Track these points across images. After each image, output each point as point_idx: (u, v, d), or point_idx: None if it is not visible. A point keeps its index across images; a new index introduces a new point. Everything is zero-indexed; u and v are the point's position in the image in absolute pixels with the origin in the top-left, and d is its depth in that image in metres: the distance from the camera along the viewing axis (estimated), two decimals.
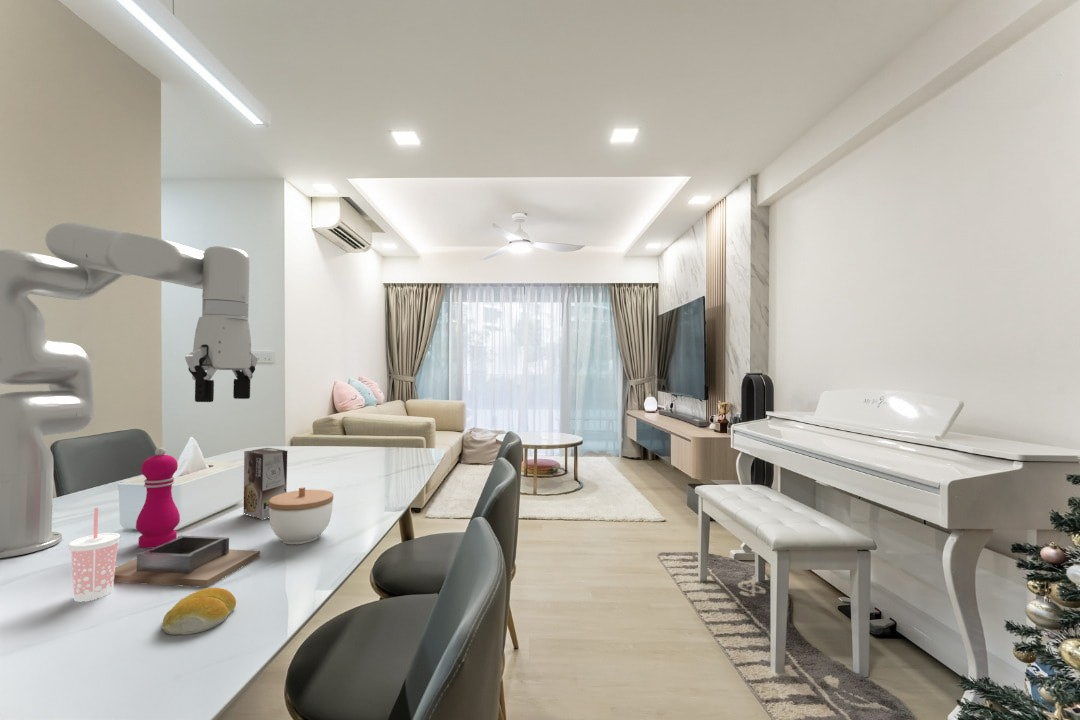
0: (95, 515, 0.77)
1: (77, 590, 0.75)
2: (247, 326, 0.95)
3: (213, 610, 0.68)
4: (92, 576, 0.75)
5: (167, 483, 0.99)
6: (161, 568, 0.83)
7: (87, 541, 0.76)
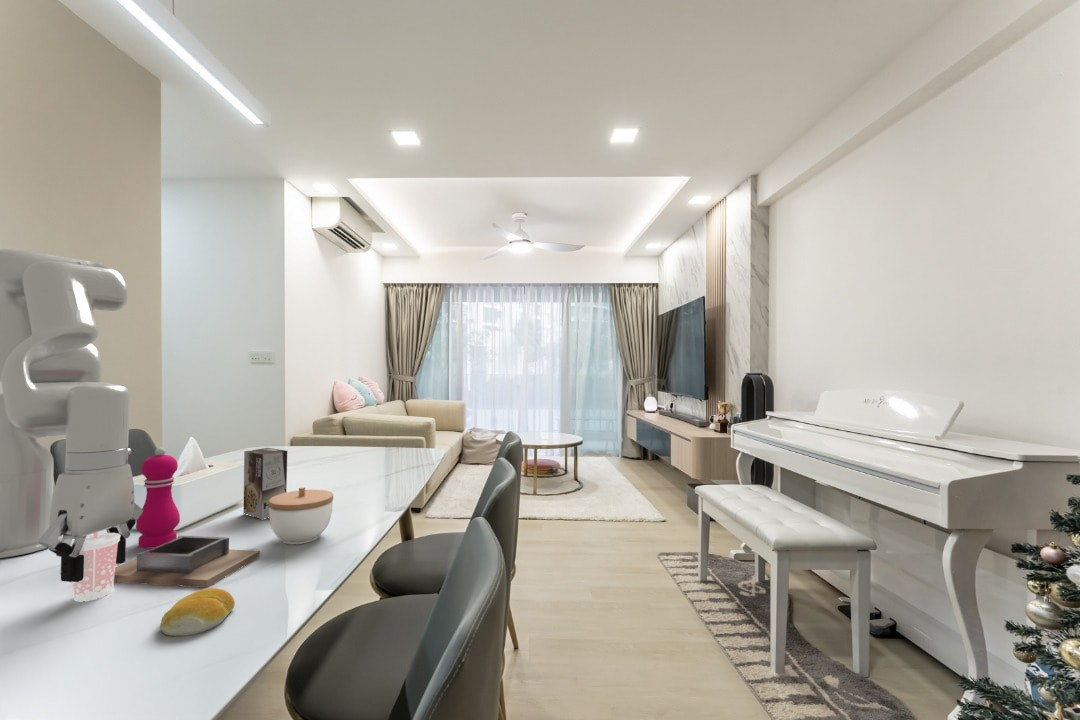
0: None
1: (77, 590, 0.75)
2: (127, 472, 0.80)
3: (211, 611, 0.68)
4: (92, 576, 0.75)
5: (166, 483, 0.99)
6: (161, 568, 0.83)
7: (87, 541, 0.76)
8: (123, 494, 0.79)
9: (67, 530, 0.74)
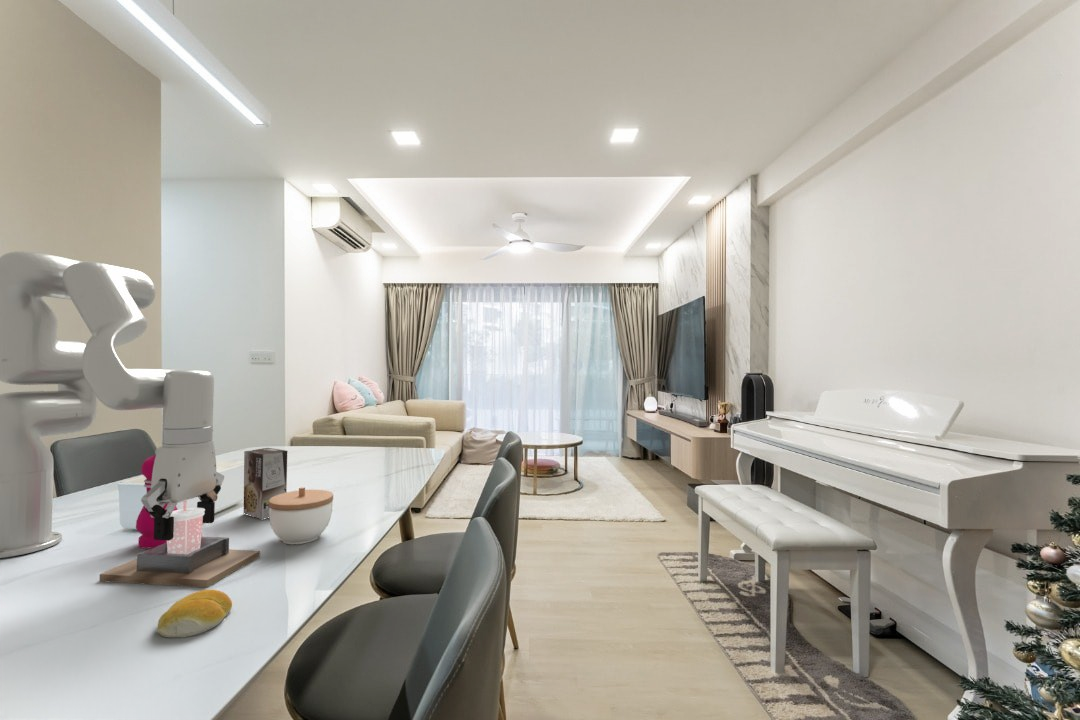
0: None
1: None
2: (211, 447, 0.91)
3: (209, 613, 0.67)
4: (184, 543, 0.86)
5: None
6: (161, 568, 0.83)
7: (178, 513, 0.87)
8: (208, 467, 0.90)
9: (165, 497, 0.84)
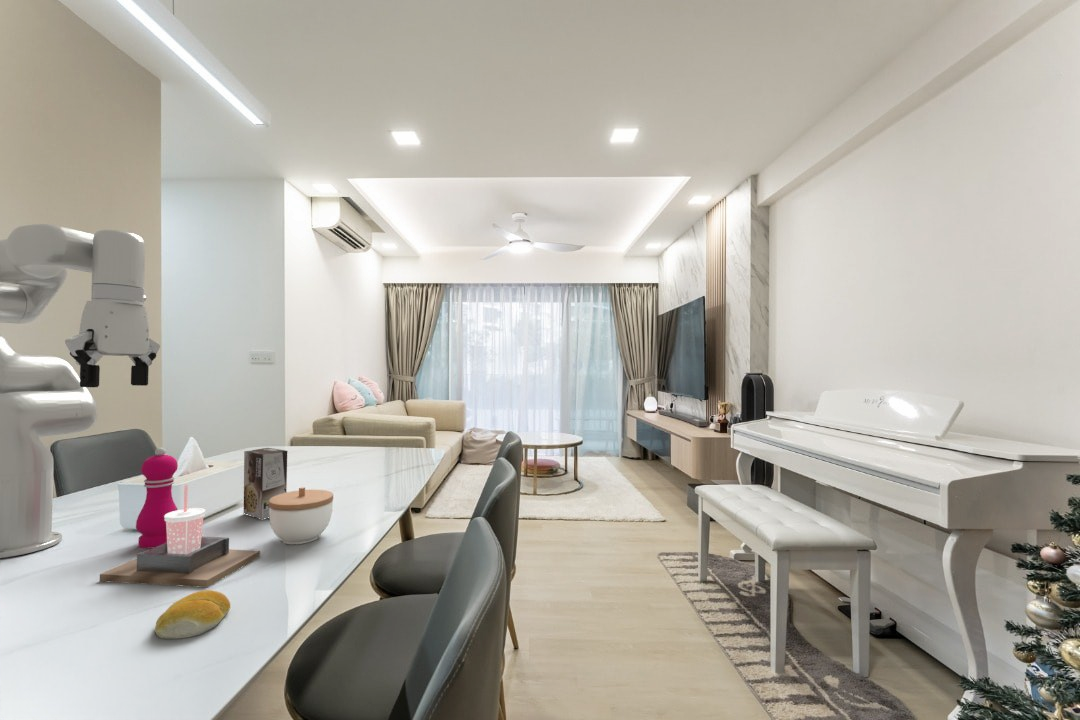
0: (185, 491, 0.88)
1: None
2: (143, 312, 0.94)
3: (207, 614, 0.67)
4: (185, 544, 0.86)
5: (167, 483, 0.99)
6: (161, 568, 0.83)
7: (179, 514, 0.87)
8: (139, 329, 0.93)
9: None
